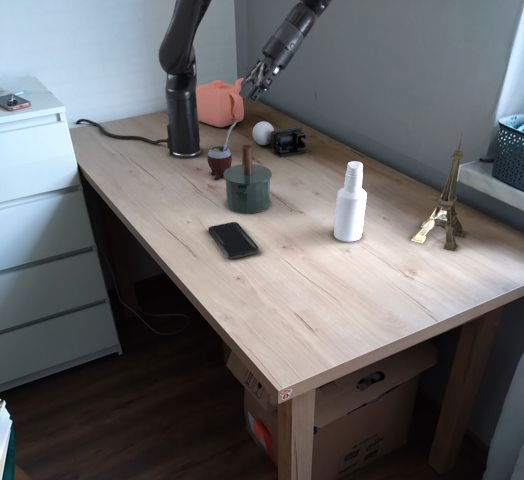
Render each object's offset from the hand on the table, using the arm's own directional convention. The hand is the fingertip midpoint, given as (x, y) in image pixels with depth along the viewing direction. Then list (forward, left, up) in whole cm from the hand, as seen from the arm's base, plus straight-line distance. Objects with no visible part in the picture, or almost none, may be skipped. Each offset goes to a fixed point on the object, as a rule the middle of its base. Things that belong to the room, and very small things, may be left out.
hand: (246, 98), depth 146 cm
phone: (+5, -37, -22) cm, 43 cm away
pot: (+4, -16, -22) cm, 28 cm away
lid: (+4, -16, -14) cm, 22 cm away
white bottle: (+32, -28, -23) cm, 48 cm away
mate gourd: (-8, +1, -23) cm, 24 cm away
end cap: (+8, +24, -23) cm, 34 cm away
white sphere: (-2, +29, -23) cm, 37 cm away
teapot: (-20, +50, -23) cm, 59 cm away
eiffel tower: (+54, -24, -23) cm, 63 cm away
